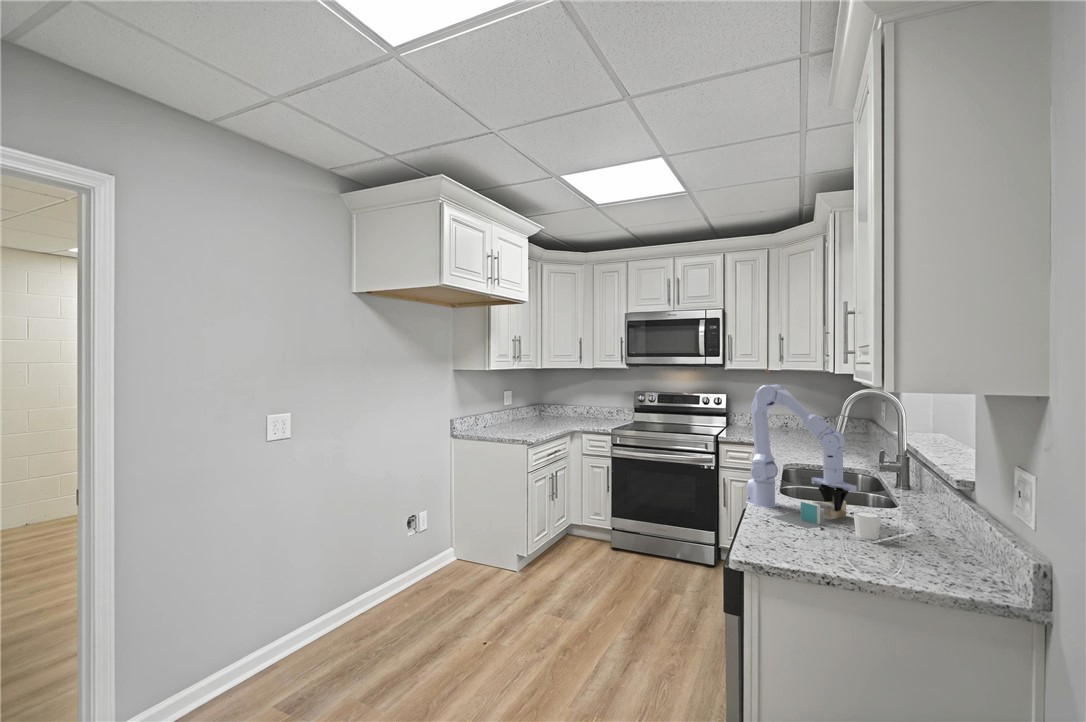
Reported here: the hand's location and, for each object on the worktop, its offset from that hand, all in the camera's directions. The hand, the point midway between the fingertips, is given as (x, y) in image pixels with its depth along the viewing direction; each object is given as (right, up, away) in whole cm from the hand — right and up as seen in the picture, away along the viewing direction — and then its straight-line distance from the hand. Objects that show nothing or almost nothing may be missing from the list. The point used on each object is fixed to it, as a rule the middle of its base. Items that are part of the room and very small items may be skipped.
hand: (833, 509), depth 173 cm
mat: (-7, -3, -1) cm, 8 cm away
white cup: (-1, -3, -19) cm, 20 cm away
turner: (-1, -2, -1) cm, 3 cm away
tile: (-10, -3, -5) cm, 12 cm away
